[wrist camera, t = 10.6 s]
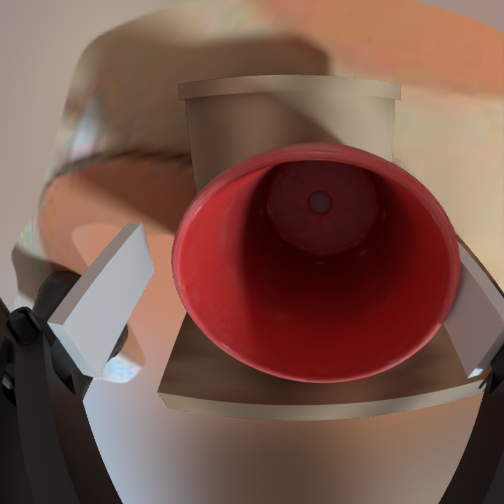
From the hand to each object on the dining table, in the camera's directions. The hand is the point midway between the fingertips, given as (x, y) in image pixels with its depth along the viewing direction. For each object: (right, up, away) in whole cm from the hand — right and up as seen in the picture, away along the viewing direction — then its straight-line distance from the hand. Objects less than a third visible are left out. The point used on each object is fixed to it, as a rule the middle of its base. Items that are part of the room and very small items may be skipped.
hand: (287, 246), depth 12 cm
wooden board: (+8, 0, +13) cm, 16 cm away
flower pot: (+3, +3, +5) cm, 7 cm away
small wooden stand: (+2, +7, +10) cm, 12 cm away
